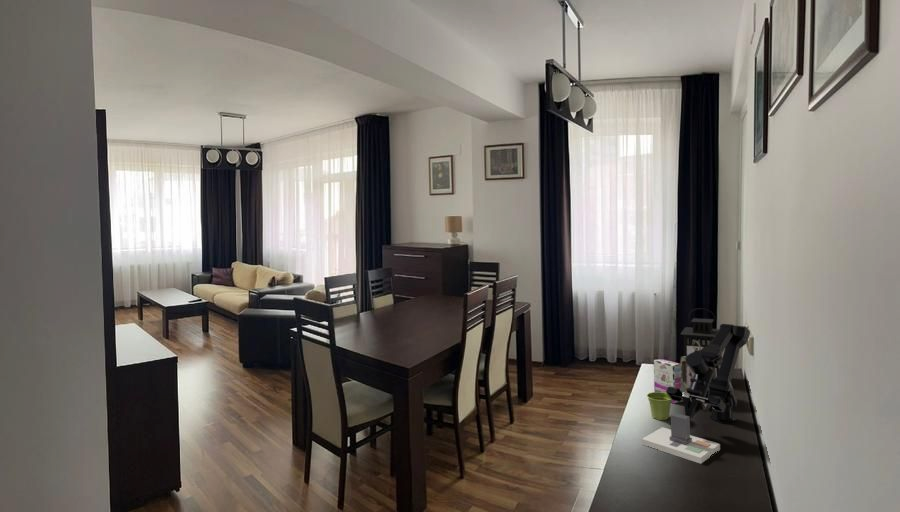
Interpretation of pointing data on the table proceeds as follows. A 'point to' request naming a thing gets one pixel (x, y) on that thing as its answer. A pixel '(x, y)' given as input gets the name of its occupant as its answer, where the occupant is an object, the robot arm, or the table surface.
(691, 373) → the tabletop clock
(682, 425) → the handle
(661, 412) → the plant pot
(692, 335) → the lantern
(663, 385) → the candy bar box
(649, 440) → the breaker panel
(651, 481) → the table surface
